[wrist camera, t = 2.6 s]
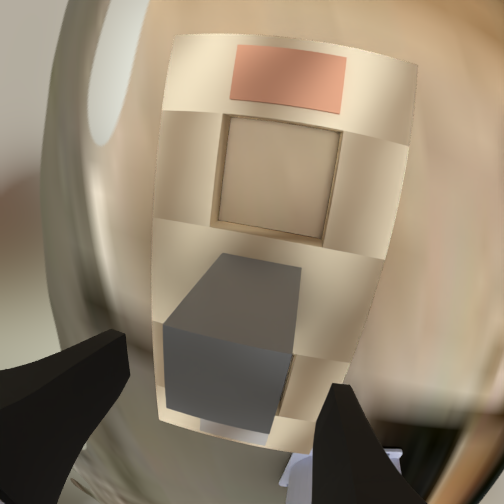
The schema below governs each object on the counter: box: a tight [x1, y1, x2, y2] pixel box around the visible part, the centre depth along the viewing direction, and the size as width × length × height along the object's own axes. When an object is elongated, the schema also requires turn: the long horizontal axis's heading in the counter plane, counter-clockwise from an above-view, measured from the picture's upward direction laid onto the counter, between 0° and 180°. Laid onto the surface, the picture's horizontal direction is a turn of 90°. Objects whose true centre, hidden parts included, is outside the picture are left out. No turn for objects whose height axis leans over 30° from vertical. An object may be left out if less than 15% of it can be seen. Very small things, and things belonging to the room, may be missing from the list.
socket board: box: [151, 34, 418, 455], centre depth 17 cm, size 12×26×2 cm, turn 173°
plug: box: [163, 253, 302, 434], centre depth 13 cm, size 4×4×7 cm
